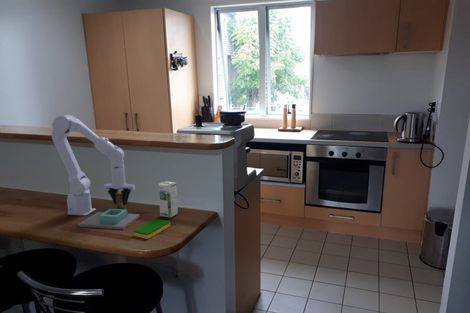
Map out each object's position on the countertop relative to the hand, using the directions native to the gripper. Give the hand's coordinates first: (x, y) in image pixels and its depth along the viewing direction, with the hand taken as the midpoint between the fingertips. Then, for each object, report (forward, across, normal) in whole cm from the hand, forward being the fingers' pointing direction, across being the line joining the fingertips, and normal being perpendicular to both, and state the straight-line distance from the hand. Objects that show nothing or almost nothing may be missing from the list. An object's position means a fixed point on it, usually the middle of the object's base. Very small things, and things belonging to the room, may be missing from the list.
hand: (120, 204), depth 157 cm
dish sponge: (+4, +24, -19) cm, 31 cm away
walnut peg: (+3, 0, 0) cm, 3 cm away
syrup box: (+3, +24, -2) cm, 24 cm away
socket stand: (+3, +2, -13) cm, 13 cm away
